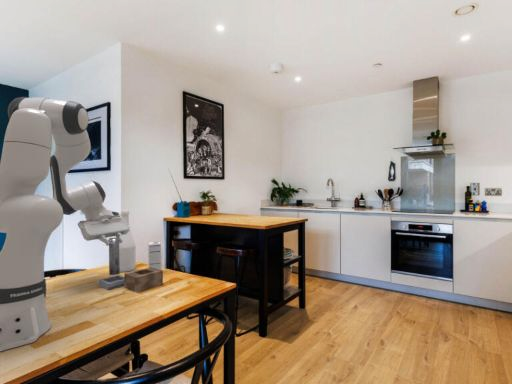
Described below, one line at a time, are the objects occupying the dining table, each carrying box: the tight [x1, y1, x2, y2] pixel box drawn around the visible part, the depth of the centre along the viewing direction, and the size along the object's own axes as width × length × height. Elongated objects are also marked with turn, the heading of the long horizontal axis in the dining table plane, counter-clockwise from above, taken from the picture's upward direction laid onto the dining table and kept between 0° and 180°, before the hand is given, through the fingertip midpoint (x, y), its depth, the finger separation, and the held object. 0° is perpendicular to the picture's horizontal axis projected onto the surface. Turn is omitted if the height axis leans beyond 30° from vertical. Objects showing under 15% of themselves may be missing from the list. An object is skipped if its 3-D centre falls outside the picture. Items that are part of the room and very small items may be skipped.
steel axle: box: [108, 237, 121, 276], centre depth 126 cm, size 4×4×15 cm
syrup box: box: [147, 241, 162, 270], centre depth 145 cm, size 6×6×14 cm
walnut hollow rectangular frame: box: [123, 266, 164, 293], centre depth 124 cm, size 12×9×6 cm
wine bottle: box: [119, 209, 137, 273], centre depth 149 cm, size 10×10×30 cm
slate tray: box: [97, 274, 124, 291], centre depth 126 cm, size 9×9×2 cm
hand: (115, 243), depth 126 cm, fingers closed on steel axle, 4 cm apart
